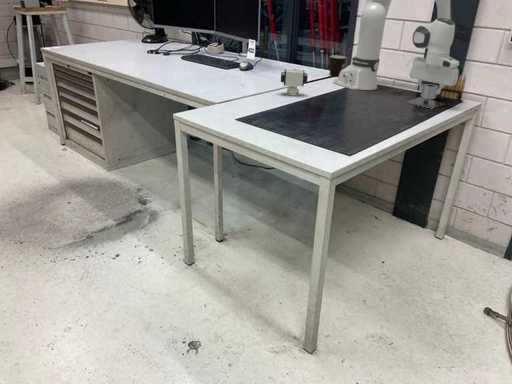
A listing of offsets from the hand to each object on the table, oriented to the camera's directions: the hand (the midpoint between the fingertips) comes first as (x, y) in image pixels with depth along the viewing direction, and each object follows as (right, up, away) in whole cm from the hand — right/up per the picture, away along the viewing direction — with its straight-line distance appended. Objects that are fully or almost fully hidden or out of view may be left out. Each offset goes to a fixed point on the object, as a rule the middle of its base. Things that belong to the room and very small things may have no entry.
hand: (429, 92), depth 182 cm
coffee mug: (-34, +20, +46) cm, 60 cm away
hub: (0, -2, +1) cm, 2 cm away
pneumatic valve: (-60, 0, +8) cm, 60 cm away
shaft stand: (-1, -5, +2) cm, 5 cm away
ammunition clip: (+13, -1, +10) cm, 17 cm away
